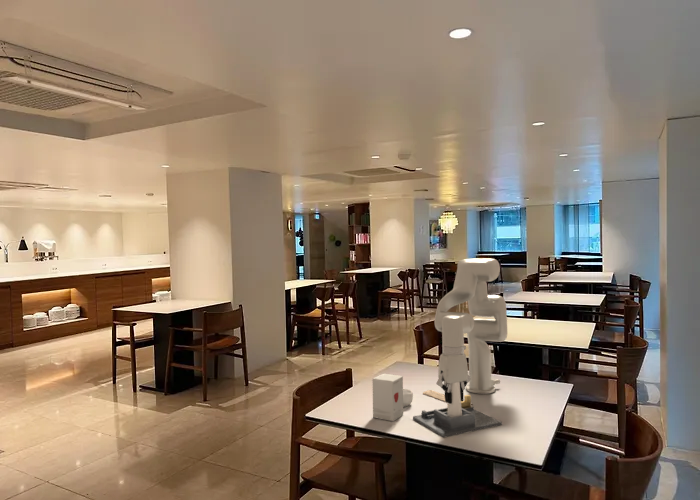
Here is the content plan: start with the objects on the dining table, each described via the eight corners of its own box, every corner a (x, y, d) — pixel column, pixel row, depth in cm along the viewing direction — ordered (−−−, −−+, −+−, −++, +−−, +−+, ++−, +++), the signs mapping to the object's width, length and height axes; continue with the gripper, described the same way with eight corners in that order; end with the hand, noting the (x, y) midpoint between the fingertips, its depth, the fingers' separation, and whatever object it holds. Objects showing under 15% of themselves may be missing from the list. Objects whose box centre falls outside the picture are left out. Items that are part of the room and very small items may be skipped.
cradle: (467, 408, 193) (467, 396, 193) (501, 424, 175) (501, 410, 175) (413, 419, 182) (412, 405, 182) (443, 437, 165) (443, 422, 165)
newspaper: (422, 395, 213) (422, 391, 213) (434, 392, 217) (434, 388, 217) (462, 410, 193) (462, 405, 193) (475, 406, 197) (474, 402, 197)
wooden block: (468, 406, 191) (468, 394, 191) (471, 408, 190) (470, 395, 190) (447, 411, 187) (447, 398, 187) (449, 412, 186) (449, 399, 186)
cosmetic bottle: (452, 425, 171) (451, 362, 171) (442, 420, 176) (441, 359, 176) (467, 422, 173) (465, 360, 173) (456, 417, 179) (455, 357, 178)
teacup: (416, 406, 197) (416, 393, 197) (399, 408, 194) (398, 395, 194) (405, 399, 206) (405, 386, 206) (388, 401, 204) (388, 388, 204)
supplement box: (393, 421, 180) (392, 381, 180) (372, 417, 185) (371, 378, 185) (404, 414, 188) (403, 375, 188) (383, 410, 193) (382, 372, 192)
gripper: (465, 346, 181) (466, 395, 182) (427, 351, 175) (428, 402, 175) (478, 349, 175) (479, 400, 175) (439, 355, 168) (440, 408, 168)
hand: (454, 400), depth 175 cm, fingers closed on cosmetic bottle, 4 cm apart
